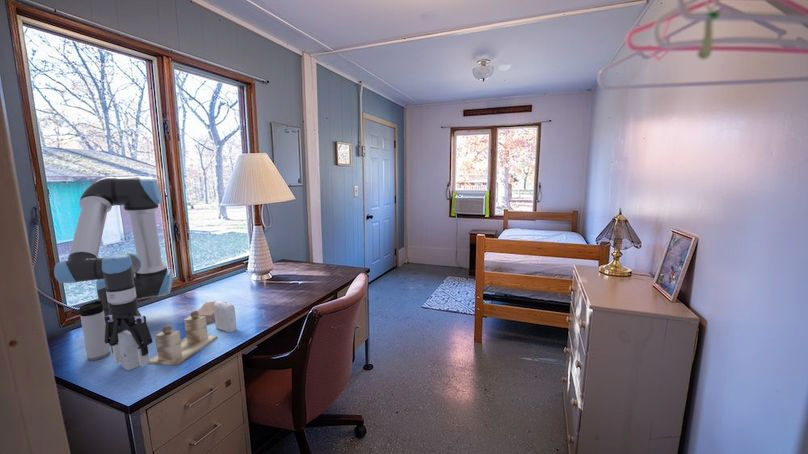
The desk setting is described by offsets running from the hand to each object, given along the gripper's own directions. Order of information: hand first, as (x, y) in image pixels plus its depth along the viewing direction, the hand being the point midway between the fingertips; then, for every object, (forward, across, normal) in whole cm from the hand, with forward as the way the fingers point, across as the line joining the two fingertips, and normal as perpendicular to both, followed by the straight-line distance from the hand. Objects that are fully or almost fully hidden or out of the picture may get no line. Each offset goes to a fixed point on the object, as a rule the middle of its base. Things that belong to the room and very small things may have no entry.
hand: (131, 362), depth 118 cm
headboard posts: (+1, +10, +12) cm, 16 cm away
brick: (+2, -2, +41) cm, 41 cm away
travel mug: (+1, -18, +4) cm, 18 cm away
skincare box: (+1, 0, 0) cm, 1 cm away
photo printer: (+1, +14, +30) cm, 33 cm away
